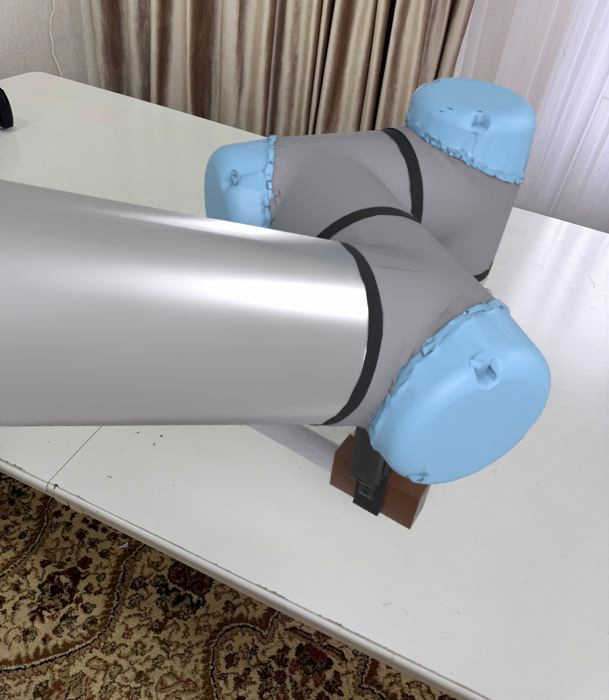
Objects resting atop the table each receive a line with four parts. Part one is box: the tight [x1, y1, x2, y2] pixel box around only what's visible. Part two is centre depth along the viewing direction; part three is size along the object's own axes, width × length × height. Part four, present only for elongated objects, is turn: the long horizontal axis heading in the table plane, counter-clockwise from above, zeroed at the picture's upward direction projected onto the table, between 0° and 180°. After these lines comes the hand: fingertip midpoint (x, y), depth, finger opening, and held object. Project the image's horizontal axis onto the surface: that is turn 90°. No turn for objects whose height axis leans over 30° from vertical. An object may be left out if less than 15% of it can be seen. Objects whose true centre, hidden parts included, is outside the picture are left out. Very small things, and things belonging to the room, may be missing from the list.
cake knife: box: [246, 425, 432, 530], centre depth 63 cm, size 26×3×5 cm, turn 57°
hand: (375, 493), depth 61 cm, fingers closed on cake knife, 3 cm apart
